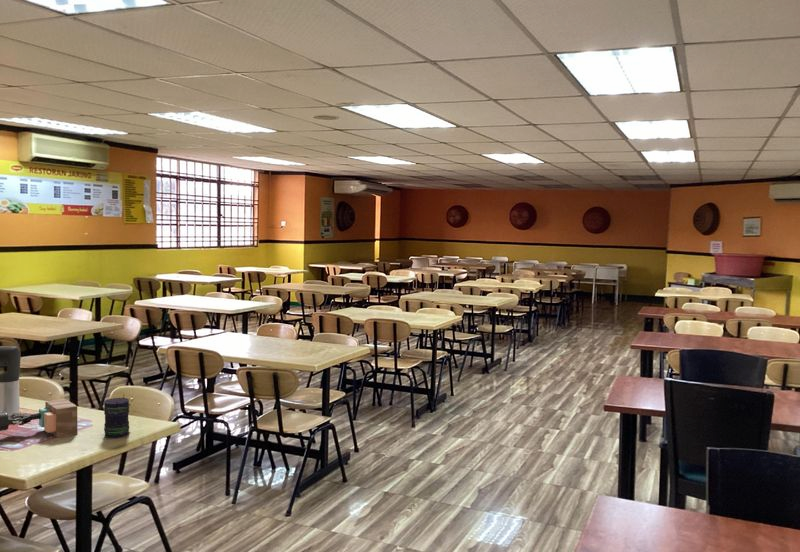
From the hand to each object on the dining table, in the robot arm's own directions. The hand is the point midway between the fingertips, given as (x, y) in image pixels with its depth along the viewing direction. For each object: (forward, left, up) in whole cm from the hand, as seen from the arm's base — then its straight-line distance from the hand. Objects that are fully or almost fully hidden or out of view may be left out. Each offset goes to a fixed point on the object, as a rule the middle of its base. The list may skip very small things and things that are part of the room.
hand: (40, 415), depth 278 cm
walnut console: (+5, +7, -7) cm, 11 cm away
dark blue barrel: (+26, +23, -7) cm, 35 cm away
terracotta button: (+9, +3, -5) cm, 11 cm away
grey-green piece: (0, +3, -5) cm, 5 cm away
